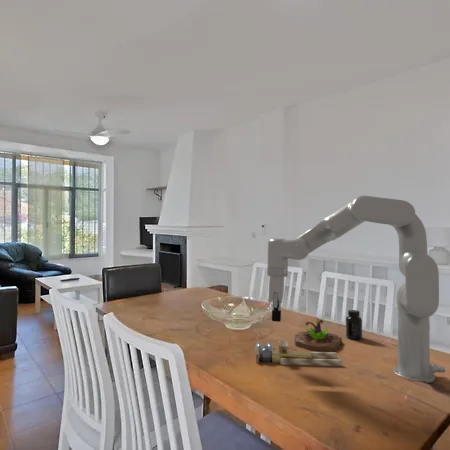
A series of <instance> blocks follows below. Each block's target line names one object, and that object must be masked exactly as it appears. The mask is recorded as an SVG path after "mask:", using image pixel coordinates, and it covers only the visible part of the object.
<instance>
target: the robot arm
mask: <svg viewBox="0 0 450 450" xmlns="http://www.w3.org/2000/svg"><path fill="white" fill-rule="evenodd" d="M364 222H368V223H369V222H370V223H375V224H381V225H382V224H383V225H389V226H392V228H394V230H395V231H396V233H397V237H398V252H399V253H398V256H399V257H398V267H399V271H400V273H401V274H402V275H403V276H404V277H405V280H404V281H405V283H404V284H402V285H401V286H400V287H399V288H398V290H397V293H396V307H397V323H398V324H397V327H398V328H397V341H398V342H397V352H398V353H397V365H395V366H394V367H393V368H392V371H393V372H394V373H395V374H396V375H398V376H400V377H402V378H404V379H407V380H412V381H417V382H425V383H427V384H430V383H433V382H434V381H435V380H436V377H435V374H436V373H445V372H446V368H445V367H444V366H439V365H437V364H436V363H435V364H432V363H430V362H431V361H430V360H431V359H430V357H431V354H430V353H431V352H430V347H431V346H430V344H431V341H430V340H431V339H430V338H431V337H430V336H431V334H430V331H431V330H430V329H431V327H430V326H431V325H430V322H431V321H430V317H431V316H433V315H434V314H435V313H436V312H437V311H438V308H439V305H440V303H439V302H440V275H439V274H440V272H439V268H438V264H437V262H436V260H435V259H434V258H433V257H432V256H431V255H428V241H427V232H426V228H425V224H424V223H423V221H422V220H421V219H420V217H419V216H418V215H417V214H416V209H415V207H414V205H413V204H411V203H410V202H409V201H408V200H407V201H406V200H403V199H397V198H396V199H395V198H387V197H378V196H370V195H360V196H357V197H356V198H354V199H352V200H351V201H349V202H348V203H346V204H345V205H343V206H341V207H340V208H339V209H337V210H335V211H334V212H333V213H331V214H329V215H328V216H326V217H324V219H322V220H321V221H320V222H319V223H317V224H316V225H314V226H313V227H312V228H310V229H309V230H306V232H304V233H302V234H301V235H299V236H298V237H297V238H296V237H295V239H284V238H270V239H269V240H268V242H267V271H266V272H267V273H266V276H267V277H269V283H268V301H267V302H268V304H271V303H272V309H271V321H272V322H277V323H279V322H281V320H282V310H281V304H282V302H283V300H284V294H285V293H284V291H285V278H286V277H287V278H288V276H289V275H288V270H289V266H288V265H289V259H290V260H295V261H302V260H305V259H306V258H307V257H308V256H309V254H311V253H312V252H314V251H315V250H317V249H319V248H320V247H321V246H324V245H325V244H327V243H329V242H332V241H335V240H338V239H340V238H341V237H342V236H344V235H346V234H347V233H349V232H350V231H352V230H353V229H355V228H357V227H358V226H359V225H362V224H363V223H364Z"/></svg>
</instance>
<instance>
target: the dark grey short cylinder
mask: <svg viewBox="0 0 450 450" xmlns="http://www.w3.org/2000/svg"><path fill="white" fill-rule="evenodd" d="M262 346H263V347H261V349H260V354H259V359H260V360H261V361H262V362H263V363H269V362H271V361H272V352H271V349H270V348H269V347H268V346H267V345H262Z"/></svg>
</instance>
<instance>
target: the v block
mask: <svg viewBox="0 0 450 450" xmlns="http://www.w3.org/2000/svg"><path fill="white" fill-rule="evenodd" d="M255 343H256V345H254V347H255V348H254V350H255V352H254V353H255V355H256V349H259V355H260V349H261V347H263V346H264V345H262V342H261V341H256V342H255ZM266 346H268V347H269V348H270V349H271V352H272V350H274V346H273V345H272V342H271V341H267V342H266Z"/></svg>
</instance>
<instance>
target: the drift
mask: <svg viewBox="0 0 450 450" xmlns="http://www.w3.org/2000/svg"><path fill="white" fill-rule="evenodd" d="M310 352H311V350H309V351H307V350H305V351H303V350H279V349H273V350H272V359H271V361H272V363H280V358H306V359H312V358H311V353H310Z"/></svg>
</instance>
